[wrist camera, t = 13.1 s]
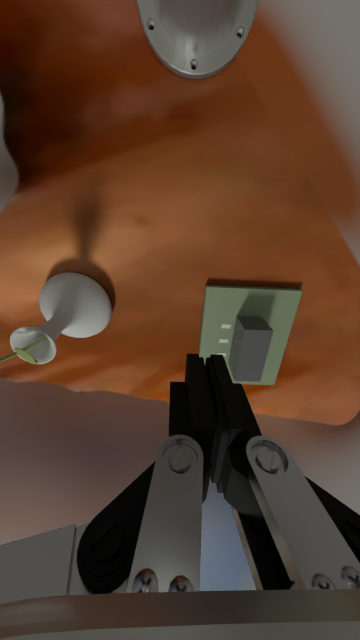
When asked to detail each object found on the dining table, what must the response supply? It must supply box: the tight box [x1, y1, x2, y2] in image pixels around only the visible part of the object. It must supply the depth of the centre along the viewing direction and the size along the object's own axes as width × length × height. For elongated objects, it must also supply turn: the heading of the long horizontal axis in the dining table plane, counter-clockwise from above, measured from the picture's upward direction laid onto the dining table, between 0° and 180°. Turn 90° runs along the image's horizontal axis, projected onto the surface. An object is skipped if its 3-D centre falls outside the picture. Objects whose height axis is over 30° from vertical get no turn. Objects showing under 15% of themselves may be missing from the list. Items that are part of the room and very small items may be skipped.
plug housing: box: [228, 316, 274, 382], centre depth 38 cm, size 10×4×5 cm, turn 177°
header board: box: [198, 285, 302, 385], centre depth 39 cm, size 20×16×5 cm
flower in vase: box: [0, 272, 112, 364], centre depth 26 cm, size 13×11×25 cm
